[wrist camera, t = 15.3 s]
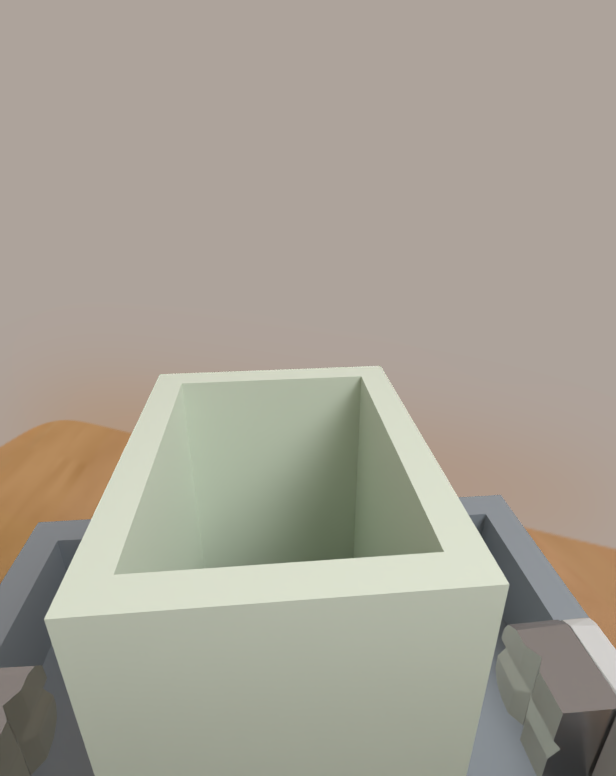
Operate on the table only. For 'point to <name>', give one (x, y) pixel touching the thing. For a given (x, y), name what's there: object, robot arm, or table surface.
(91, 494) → the table surface
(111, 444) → the table surface
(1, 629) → the grey tray
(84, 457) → the table surface
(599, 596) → the table surface
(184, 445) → the small tall open container
